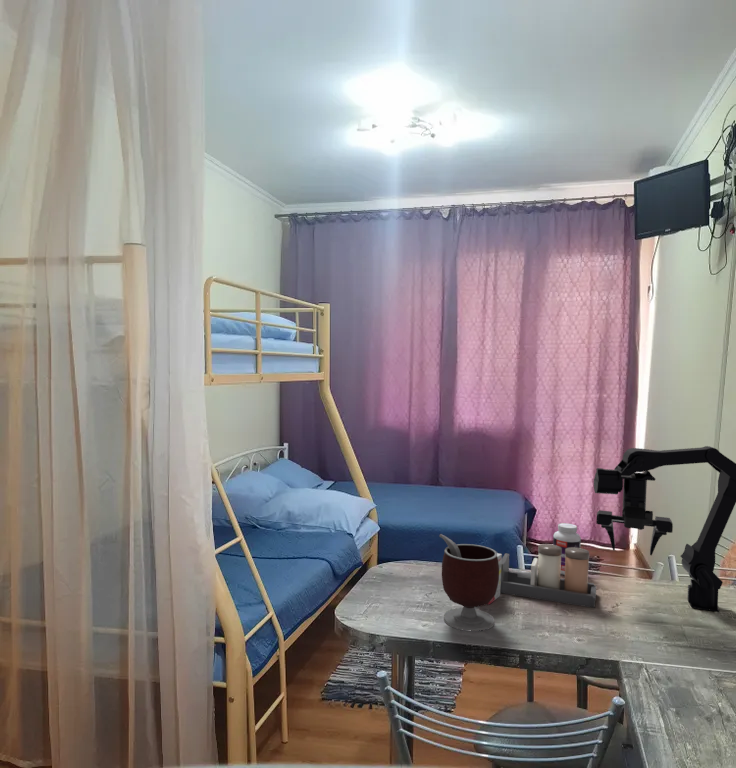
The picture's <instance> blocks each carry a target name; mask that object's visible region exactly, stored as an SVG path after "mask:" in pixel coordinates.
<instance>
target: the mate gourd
mask: <svg viewBox="0 0 736 768" xmlns="http://www.w3.org/2000/svg"><path fill="white" fill-rule="evenodd" d="M439 538H441V539H442V540H444V542H445V543H446V545H447V547H445V548H444V553H443V555H442V556H443V557H442V560H441V561H442V563H441V581H442V587H443V591H444V593H445V594H446V595H447V597H448V599H449V600H450V601H451V602H453V603H455V604H457V605H459V606H461V607H456V608H452V609H449V610H447V611H446V612H444V614H443V621H444V623H446V625H448V626H449V627H451V628H453V629H456V628H457V630H459V629H463V630H462V631H464V630H471V631H470V632H482V631H481V630H483V631H486V630H485V629H487V630H489V628H490V629H491V628H493V626H494V625H495V619H494V616H493V615H491V614H490V613H489V612H486V611H484V610H482V609H481V610H480V609H476V608H477V607H482V606H485V605H487V604H488V603H489V602H490V601H491V599H492V598H493V597H494V596H495V594H496V591H497V587H498V581H499V564H498V558H497V553H498V551H496V550H495V549H493V548H491V547H487V546H484V545H479V544H473V543H471V544H470V543H460V544H459V543H458V544H456V542H454V541H453V540H452V539H450V538H449V537H447V536H446V535H443V533H440V534H439ZM479 630H480V631H479Z"/></svg>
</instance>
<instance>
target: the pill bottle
mask: <svg viewBox="0 0 736 768" xmlns="http://www.w3.org/2000/svg"><path fill="white" fill-rule="evenodd" d="M557 529H558V530H557V531H555V532H554V533H553V536H552V537H553V538H552V539H553V540H552V544H553V545H557V546H560V547H561V548H562V554H561V574H560V575H563V576H565V549H566V548H569V547H576V548H582V546H581V545H582V544H581V543H582V537H581V535H580V534H579V533H578V526H577V525H575V524H572V523H566V522H565V523H561V522H560V523H558V525H557Z"/></svg>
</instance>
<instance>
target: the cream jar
mask: <svg viewBox="0 0 736 768" xmlns="http://www.w3.org/2000/svg"><path fill="white" fill-rule="evenodd" d="M537 551H538V555H537V556H538V585H537V586H540V587H546V588H553V589H559V590H560V578H561V575H562V574H561V554H562V548H561V547H560V546H557V545H553V543H552V544H551V543H542V544H541V543H540V544H538V549H537Z"/></svg>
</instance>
